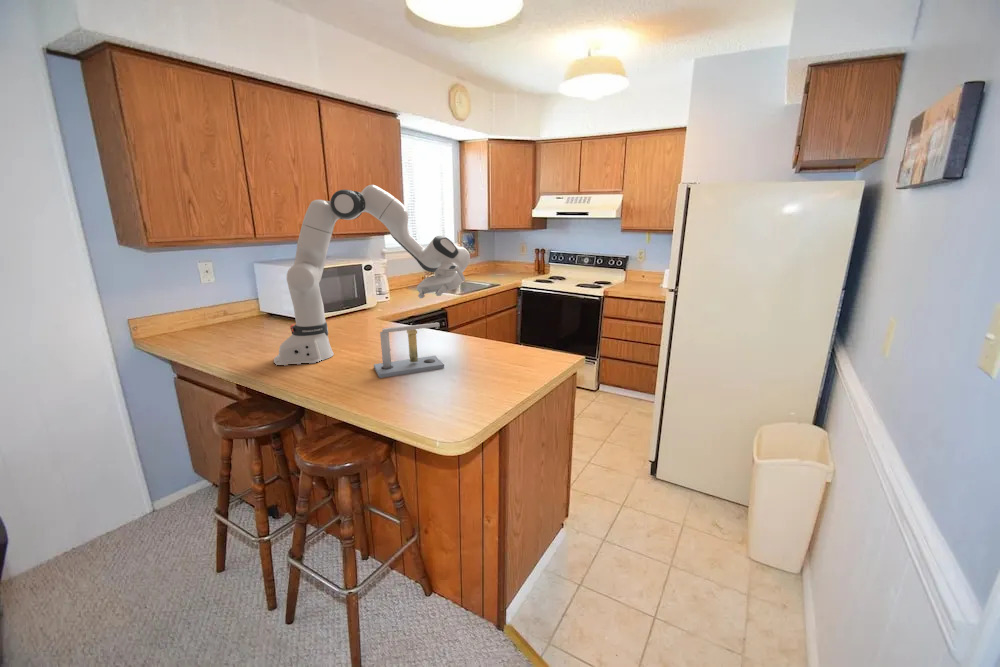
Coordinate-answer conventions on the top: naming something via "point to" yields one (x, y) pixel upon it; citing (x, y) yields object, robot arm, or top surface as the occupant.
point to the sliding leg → (412, 345)
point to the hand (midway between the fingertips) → (428, 295)
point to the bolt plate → (404, 365)
